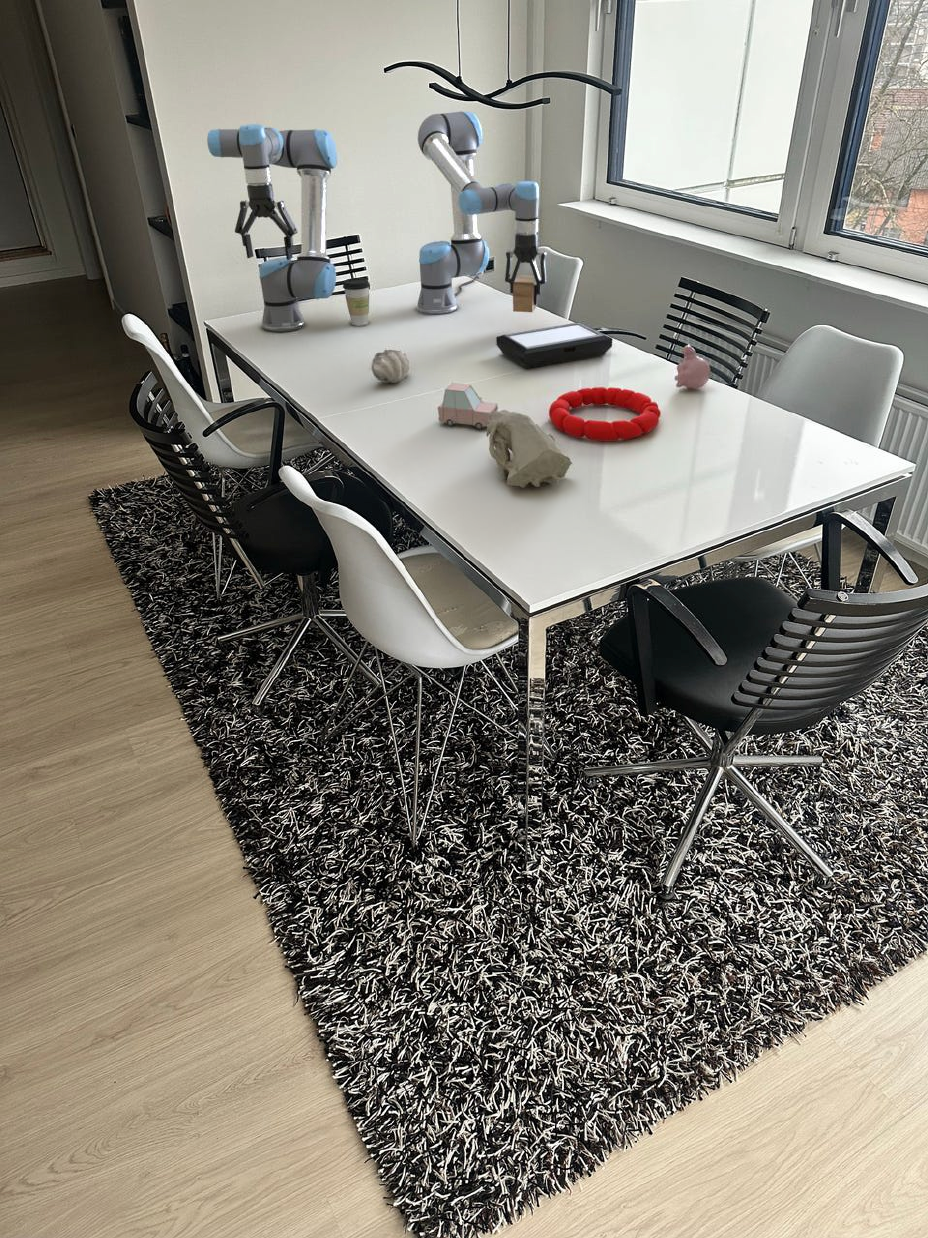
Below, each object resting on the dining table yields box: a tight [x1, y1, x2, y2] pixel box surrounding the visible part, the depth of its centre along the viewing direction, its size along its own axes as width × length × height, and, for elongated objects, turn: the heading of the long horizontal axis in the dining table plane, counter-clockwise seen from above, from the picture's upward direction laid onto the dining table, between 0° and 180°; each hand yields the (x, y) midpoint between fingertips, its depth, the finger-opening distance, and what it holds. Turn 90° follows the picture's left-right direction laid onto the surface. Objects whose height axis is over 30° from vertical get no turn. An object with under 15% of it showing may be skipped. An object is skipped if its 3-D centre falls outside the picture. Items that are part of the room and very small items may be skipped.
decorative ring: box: [548, 386, 661, 442], centre depth 242 cm, size 7×30×30 cm
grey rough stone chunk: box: [485, 409, 573, 489], centre depth 216 cm, size 17×25×20 cm
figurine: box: [674, 344, 711, 390], centre depth 259 cm, size 9×11×12 cm
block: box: [512, 275, 538, 313], centre depth 309 cm, size 9×7×10 cm
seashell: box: [371, 349, 411, 384], centre depth 271 cm, size 10×15×10 cm
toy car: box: [437, 382, 499, 431], centre depth 243 cm, size 9×15×10 cm, turn 70°
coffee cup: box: [342, 277, 371, 327], centre depth 323 cm, size 10×10×15 cm
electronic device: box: [495, 322, 613, 370], centre depth 290 cm, size 32×6×20 cm
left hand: (269, 257), depth 279 cm, fingers open, 13 cm apart
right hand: (525, 303), depth 310 cm, fingers closed on block, 7 cm apart
